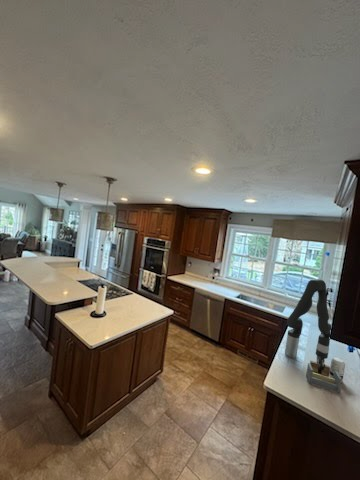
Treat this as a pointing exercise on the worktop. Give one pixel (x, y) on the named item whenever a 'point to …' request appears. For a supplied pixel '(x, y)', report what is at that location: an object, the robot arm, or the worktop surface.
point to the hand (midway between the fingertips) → (318, 372)
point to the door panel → (324, 372)
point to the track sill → (324, 380)
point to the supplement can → (337, 367)
